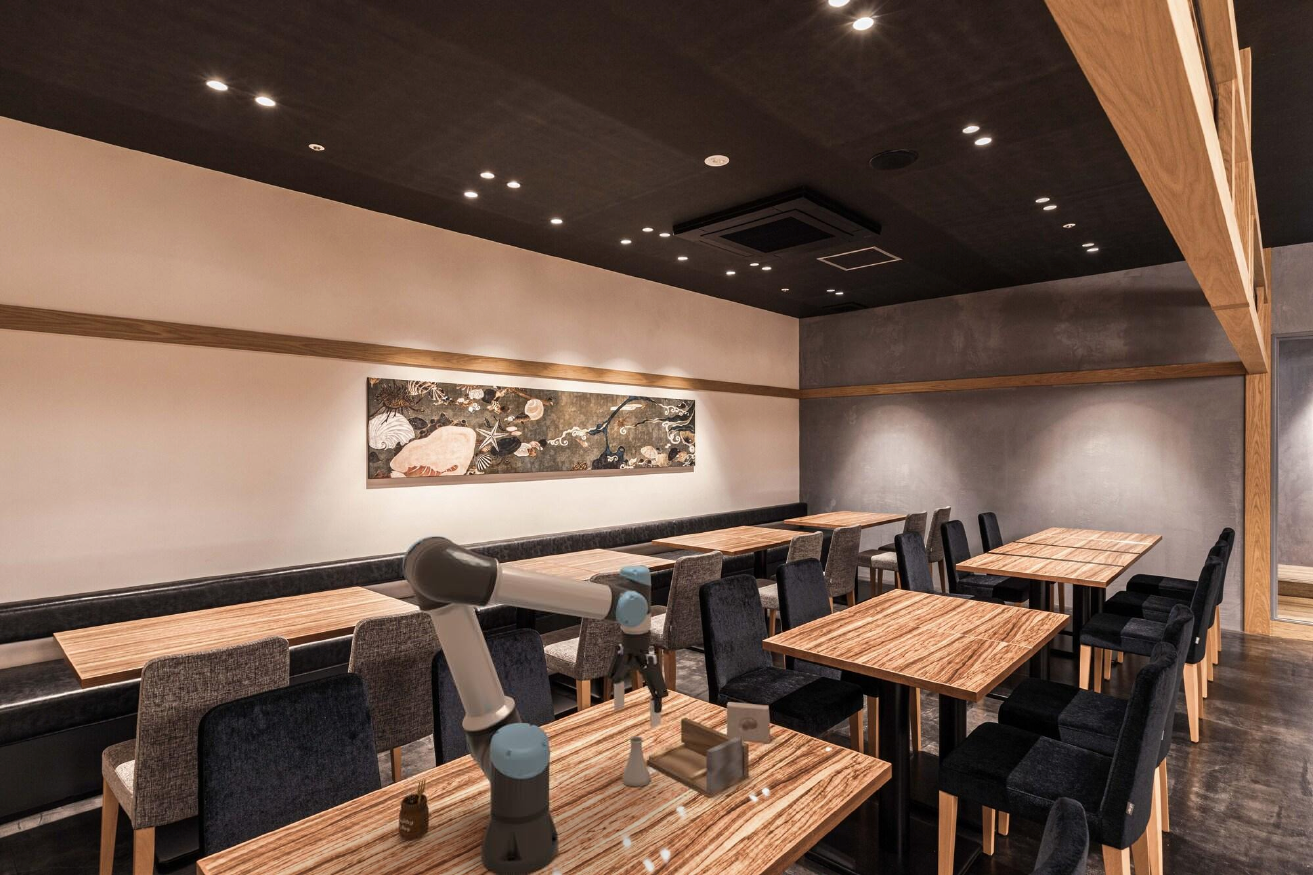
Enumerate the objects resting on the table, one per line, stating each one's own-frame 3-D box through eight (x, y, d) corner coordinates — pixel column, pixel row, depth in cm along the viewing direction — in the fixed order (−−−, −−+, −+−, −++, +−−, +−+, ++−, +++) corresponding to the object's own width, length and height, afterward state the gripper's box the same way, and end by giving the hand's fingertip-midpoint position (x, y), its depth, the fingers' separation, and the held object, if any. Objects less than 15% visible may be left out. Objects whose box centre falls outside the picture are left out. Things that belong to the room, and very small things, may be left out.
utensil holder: (418, 821, 142) (419, 765, 143) (435, 832, 138) (435, 774, 139) (393, 833, 138) (393, 776, 138) (409, 845, 134) (409, 785, 134)
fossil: (726, 740, 182) (726, 705, 182) (727, 734, 186) (727, 700, 186) (770, 744, 180) (769, 708, 180) (770, 738, 183) (770, 704, 183)
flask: (652, 773, 163) (652, 733, 163) (649, 788, 156) (649, 746, 156) (623, 772, 164) (623, 732, 164) (619, 787, 157) (619, 744, 157)
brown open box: (709, 798, 151) (709, 753, 152) (646, 764, 168) (646, 724, 168) (748, 777, 161) (748, 735, 161) (685, 748, 177) (685, 710, 177)
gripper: (682, 637, 154) (683, 727, 154) (616, 617, 173) (616, 698, 172) (659, 643, 149) (660, 737, 149) (593, 623, 168) (593, 706, 167)
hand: (636, 716), depth 160 cm, fingers open, 13 cm apart
